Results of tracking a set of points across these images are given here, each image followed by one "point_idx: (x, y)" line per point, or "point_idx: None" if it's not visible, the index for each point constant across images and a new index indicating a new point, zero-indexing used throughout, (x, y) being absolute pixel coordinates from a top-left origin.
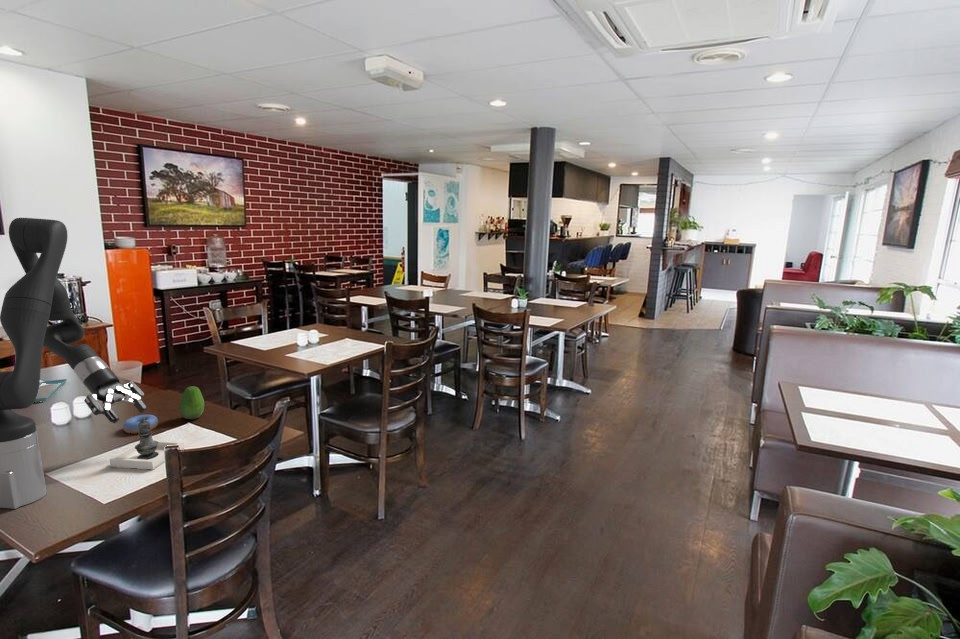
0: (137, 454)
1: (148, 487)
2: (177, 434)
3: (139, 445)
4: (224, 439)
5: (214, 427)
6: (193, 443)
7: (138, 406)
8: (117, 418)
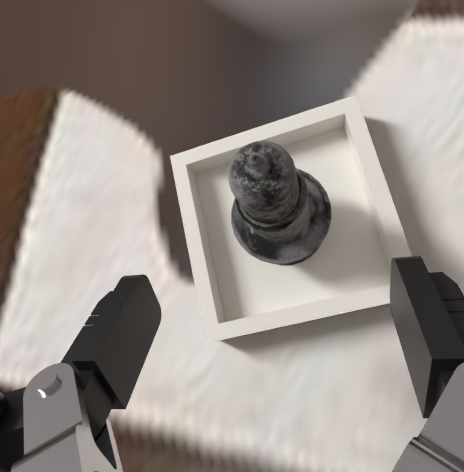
0: (291, 284)
1: (456, 4)
2: (84, 321)
3: (312, 215)
4: (78, 116)
5: (3, 239)
6: (132, 185)
7: (133, 339)
8: (412, 256)
